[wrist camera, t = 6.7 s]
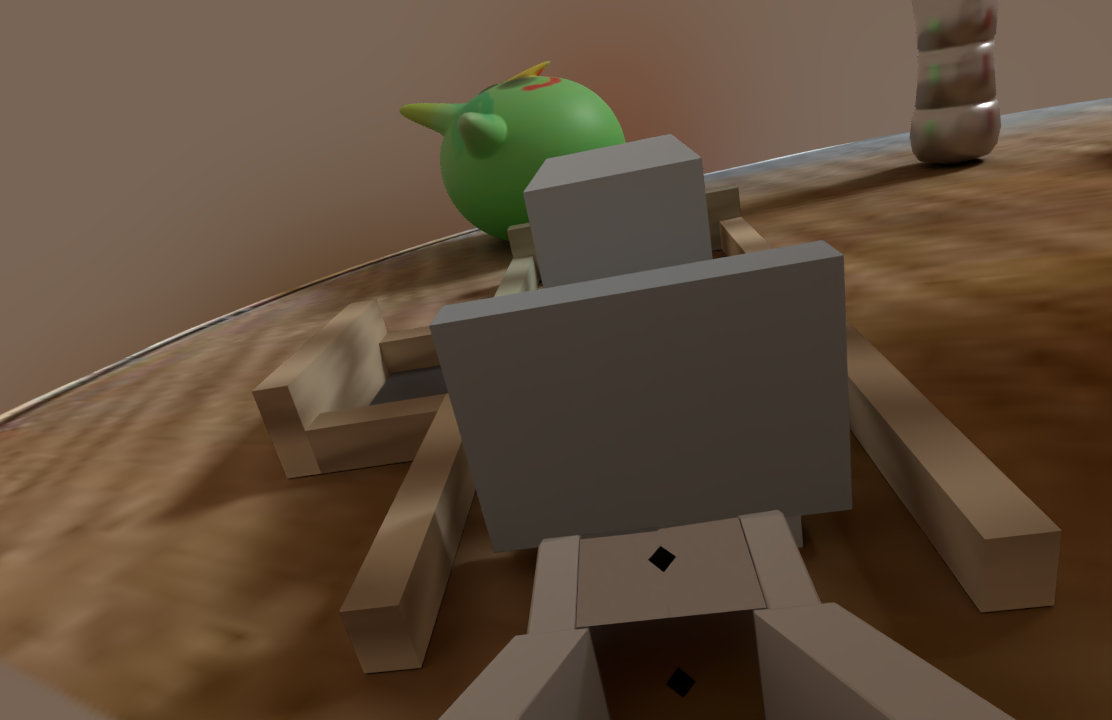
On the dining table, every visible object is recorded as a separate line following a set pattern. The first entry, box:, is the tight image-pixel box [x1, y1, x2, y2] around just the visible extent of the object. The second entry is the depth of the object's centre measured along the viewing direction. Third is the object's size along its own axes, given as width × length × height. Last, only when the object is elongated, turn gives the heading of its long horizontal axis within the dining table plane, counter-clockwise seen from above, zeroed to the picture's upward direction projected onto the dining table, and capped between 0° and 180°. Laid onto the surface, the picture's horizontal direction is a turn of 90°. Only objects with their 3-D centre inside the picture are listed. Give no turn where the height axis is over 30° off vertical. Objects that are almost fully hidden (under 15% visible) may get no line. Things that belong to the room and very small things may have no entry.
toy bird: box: [400, 61, 625, 241], centre depth 59 cm, size 18×17×15 cm
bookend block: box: [429, 134, 852, 553], centre depth 25 cm, size 18×10×10 cm, turn 177°
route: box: [252, 184, 1062, 673], centre depth 32 cm, size 36×23×4 cm, turn 177°
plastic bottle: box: [910, 0, 1001, 164], centre depth 54 cm, size 6×7×20 cm
